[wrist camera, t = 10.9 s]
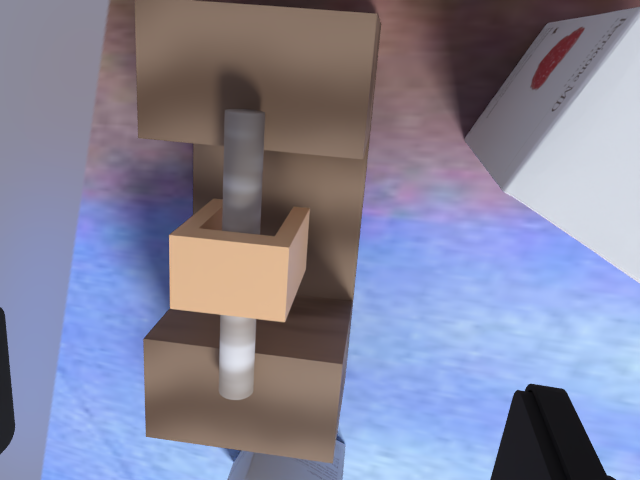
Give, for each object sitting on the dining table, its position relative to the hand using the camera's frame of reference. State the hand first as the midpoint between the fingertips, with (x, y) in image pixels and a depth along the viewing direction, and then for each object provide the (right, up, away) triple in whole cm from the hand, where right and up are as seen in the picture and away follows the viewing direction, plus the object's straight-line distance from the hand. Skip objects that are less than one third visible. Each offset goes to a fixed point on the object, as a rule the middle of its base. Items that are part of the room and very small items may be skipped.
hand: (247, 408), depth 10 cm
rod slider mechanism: (-2, +5, +31) cm, 32 cm away
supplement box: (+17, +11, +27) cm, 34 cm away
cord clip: (-2, +3, +25) cm, 26 cm away
